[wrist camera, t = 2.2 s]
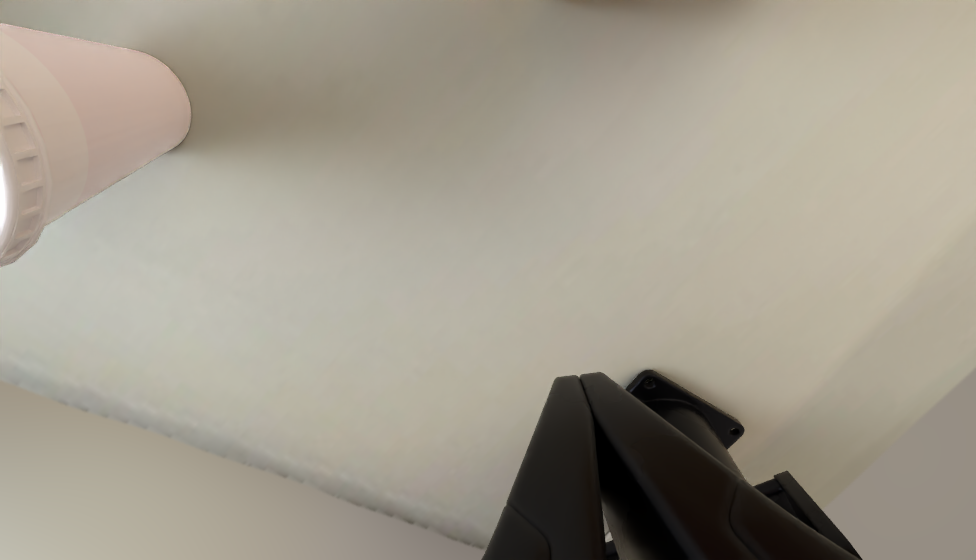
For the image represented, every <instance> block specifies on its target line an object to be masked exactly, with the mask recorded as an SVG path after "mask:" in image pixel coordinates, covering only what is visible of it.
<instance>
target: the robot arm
mask: <svg viewBox="0 0 976 560" xmlns="http://www.w3.org/2000/svg"><path fill="white" fill-rule="evenodd" d="M648 379H652V381H651V382H648V383H646V381H647V380H648ZM732 428H734V429H733V430H731V429H732ZM743 433H744V427H743V426H742V424H741V423H740V422H739V421H738V420H737V419H735V418H734V417H732V416H730V415H729V414H727V413H725V412H724V411H722V410H720V409H718V408H717V407H715V406H713V405H712V404H710V403H708V402H707V401H705V400H703V399H701V398H700V397H698V396H696V395H695V394H693V393H691V392H689V391H688V390H686V389H684V388H683V387H681V386H679V385H678V384H676V383H674V382H672V381H671V380H669V379H667V378H666V377H664V376H662V375H661V374H659V373H657V372H655V371H653V370H645V371H642V372H641V373H640V374H639V375H638V376H637V377H636V378H635V379H634V380H633V381H632V383H631V384H630V385H629V386H628V387H627V388H626V389H623V388H622V387H621V386H619V385H618V384H617V383H615V382H614V381H613V380H612V379H610V378H609V377H608V376H606V375H605V374H604V373H601V372H596V373H588V374H582V375H580V377H578V376H576V375H572V376H564V377H557V378H556V379H555V380H554V383H553V385H552V388H551V390H550V393H549V395H548V398H547V401H546V403H545V406H544V408H543V411H542V413H541V416H540V418H539V421H538V423H537V426H536V429H535V431H534V434H533V436H532V439H531V441H530V444H529V446H528V449H527V451H526V454H525V457H524V459H523V462H522V464H521V467H520V469H519V472H518V474H517V477H516V479H515V482H514V485H513V487H512V490H511V492H510V495H509V497H508V500H507V503H506V506H505V507H504V509H503V512H502V514H501V517H500V519H499V522H498V525H497V527H496V529H495V531H494V534H493V536H492V538H491V541H490V543H489V545H488V547H487V550H486V552H485V554H484V556H483V558H482V560H862V558H861V557H860V556H859V554H858V553H857V552H856V550H855V549H854V548H853V546H852V545H851V544H850V542H849V541H848V540H847V539H846V537H845V536H844V535H843V534H842V533H841V532H840V531H839V529H838V528H837V527H836V526H835V525H834V524H833V522H832V521H831V520H830V519H829V518H828V517H827V516H826V514H825V513H824V512H823V511H822V510H821V509H820V508H819V506H818V505H817V504H816V503H815V502H814V501H813V500H812V498H811V497H810V496H809V495H808V494H807V493H806V492H805V490H804V489H803V488H802V487H801V486H800V485H799V484H798V482H797V481H796V480H795V479H794V478H793V477H792V476H791V474H790V473H789V472H788V471H785V472H782V473H779V474H777V475H774V479H771V480H769V481H766V482H763V483H761V484H758V485H756V486H751V485H750V484H749V483H748V482H746V480H745V478H744V477H743V475H742V474H741V472H740V470H739V469H738V467H737V465H736V464H735V462H734V461H733V459H732V457H731V456H730V454H729V452H728V451H727V449H728V448H729V447H730V446H731V445H732V444H733V443H735V442H736V441H737V440H738V439H739V438H740V437H741V436H742V435H743ZM602 509H603V512H604V515H605V518H606V521H607V524H608V527H609V530H610V532H611V535H612V538H613V540H612V541H609V542H606V543H605V532H604V522H603V512H602Z"/></svg>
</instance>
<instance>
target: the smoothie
mask: <svg viewBox="0 0 976 560" xmlns="http://www.w3.org/2000/svg"><path fill="white" fill-rule="evenodd" d="M190 124H191V107H190V102H189V98H188V96H187V93H186V91H185V89H184V87H183V85H182V83H181V82H180V80H179V79H178V78H177V76H176V75H175V74H174V73H173V72H172V71H171V70H170V69H169V68H168V67H167V66H166V65H165V64H164V63H162V62H161V61H159V60H158V59H156V58H155V57H153V56H151V55H149V54H146V53H143V52H140V51H136V50H131V49H126V48H121V47H116V46H112V45H107V44H102V43H97V42H92V41H87V40H82V39H77V38H72V37H67V36H62V35H57V34H53V33H48V32H43V31H38V30H33V29H28V28H23V27H18V26H13V25H8V24H3V23H0V267H3V266H5V265H8V264H10V263H13V262H15V261H16V260H17V259H19V258H20V257H21V256H22V255H23V254H24V253H25V252H26V251H28V250H29V249H30V248H31V247H32V246H33V245H34V244H35V243H37V241H38V239H39V237H40V235H41V233H42V231H43V229H44V227H45V226H46V225H48V224H50V223H51V222H53V221H55V220H57V219H58V218H60V217H61V216H63V215H64V214H66V213H67V212H69V211H70V210H72V209H74V208H75V207H77V206H79V205H80V204H82V203H84V202H85V201H87V200H89V199H90V198H92V197H94V196H95V195H97V194H98V193H100V192H102V191H103V190H105V189H107V188H108V187H110V186H112V185H113V184H115V183H117V182H118V181H120V180H122V179H123V178H125V177H127V176H128V175H130V174H131V173H133V172H135V171H136V170H138V169H140V168H141V167H143V166H145V165H146V164H148V163H150V162H151V161H153V160H155V159H156V158H158V157H159V156H161V155H163V154H164V153H166V152H168V151H169V150H171V149H173V148H174V147H176V146H177V145H179V144H180V143H181V142H182V141H183V139H184V138H185V136H186V135H187V133H188V130H189V128H190Z"/></svg>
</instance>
